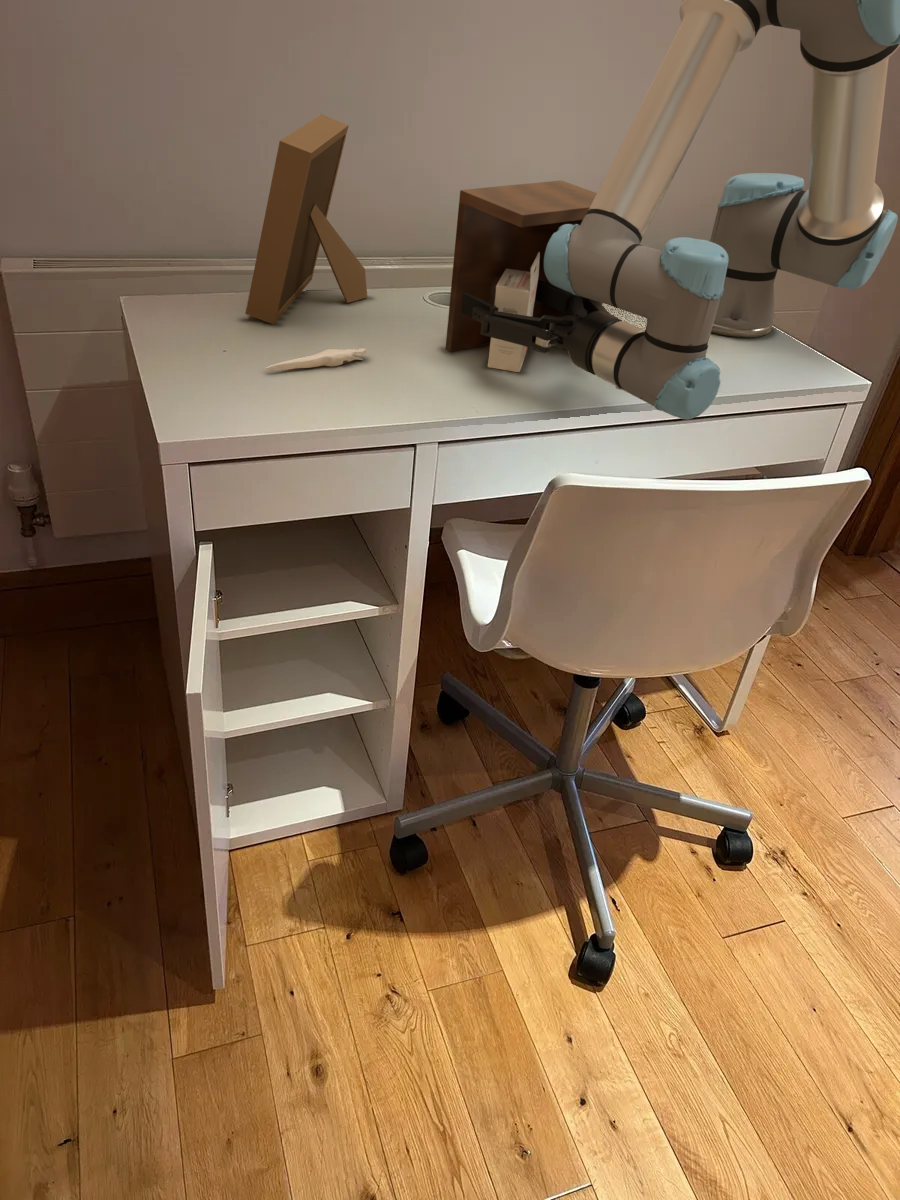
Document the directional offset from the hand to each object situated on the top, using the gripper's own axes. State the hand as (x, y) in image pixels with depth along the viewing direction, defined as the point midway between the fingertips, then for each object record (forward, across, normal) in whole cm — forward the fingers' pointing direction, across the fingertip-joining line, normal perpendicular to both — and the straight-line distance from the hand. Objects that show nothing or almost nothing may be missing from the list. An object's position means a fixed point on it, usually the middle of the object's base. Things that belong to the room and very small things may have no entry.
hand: (501, 295), depth 130 cm
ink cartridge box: (-3, 0, -9) cm, 9 cm away
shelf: (-2, +4, -8) cm, 9 cm away
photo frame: (+28, -14, -9) cm, 32 cm away
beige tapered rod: (+7, -26, -9) cm, 28 cm away
